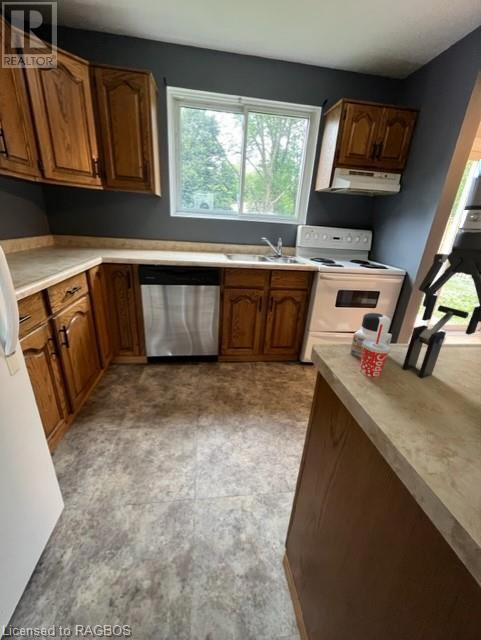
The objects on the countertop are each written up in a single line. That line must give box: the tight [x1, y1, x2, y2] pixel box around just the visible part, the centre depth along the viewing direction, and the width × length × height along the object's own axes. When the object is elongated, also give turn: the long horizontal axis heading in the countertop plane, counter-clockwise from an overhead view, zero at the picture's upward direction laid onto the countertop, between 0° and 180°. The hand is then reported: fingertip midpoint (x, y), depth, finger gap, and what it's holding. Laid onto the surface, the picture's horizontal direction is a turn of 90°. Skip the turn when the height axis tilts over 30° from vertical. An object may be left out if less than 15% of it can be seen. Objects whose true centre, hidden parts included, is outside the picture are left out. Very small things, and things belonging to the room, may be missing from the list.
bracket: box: [401, 324, 447, 380], centre depth 66 cm, size 12×9×13 cm
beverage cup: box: [359, 324, 392, 378], centre depth 65 cm, size 6×6×14 cm
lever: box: [419, 304, 469, 346], centre depth 66 cm, size 12×6×2 cm
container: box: [349, 312, 393, 359], centre depth 74 cm, size 8×8×13 cm
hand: (446, 325), depth 68 cm, fingers open, 9 cm apart
